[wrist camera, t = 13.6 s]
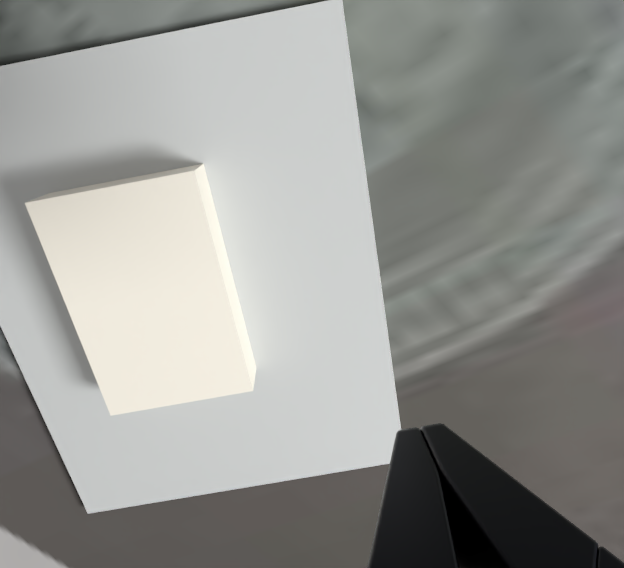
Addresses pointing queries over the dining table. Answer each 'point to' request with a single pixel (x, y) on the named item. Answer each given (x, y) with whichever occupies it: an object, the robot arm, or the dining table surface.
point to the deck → (148, 288)
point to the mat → (238, 242)
